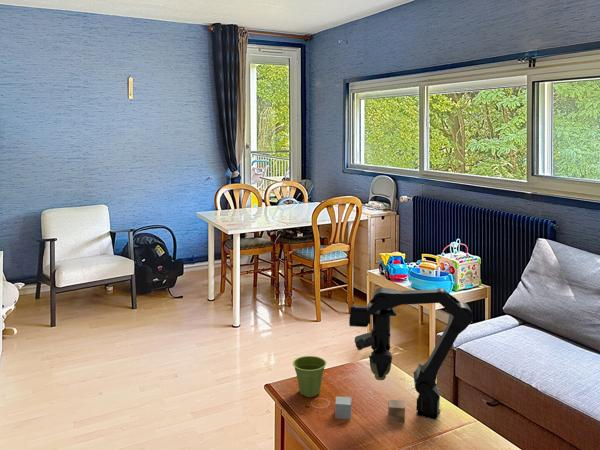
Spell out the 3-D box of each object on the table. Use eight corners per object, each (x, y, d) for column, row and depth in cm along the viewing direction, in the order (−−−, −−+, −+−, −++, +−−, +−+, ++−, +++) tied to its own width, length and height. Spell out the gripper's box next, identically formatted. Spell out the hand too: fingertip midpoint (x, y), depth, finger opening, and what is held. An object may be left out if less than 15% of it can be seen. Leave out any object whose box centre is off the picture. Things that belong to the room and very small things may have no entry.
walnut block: (403, 414, 172) (404, 400, 171) (404, 422, 167) (405, 408, 166) (388, 413, 173) (388, 399, 172) (388, 421, 168) (388, 407, 167)
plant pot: (287, 389, 190) (287, 359, 188) (316, 382, 195) (316, 353, 193) (302, 403, 179) (302, 372, 177) (332, 396, 184) (332, 365, 183)
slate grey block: (351, 411, 174) (351, 397, 173) (350, 419, 169) (350, 404, 168) (336, 410, 175) (336, 396, 174) (335, 418, 170) (335, 403, 169)
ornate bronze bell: (386, 385, 168) (386, 362, 167) (365, 380, 172) (365, 357, 171) (395, 377, 174) (395, 354, 173) (374, 371, 178) (374, 349, 177)
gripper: (357, 316, 181) (356, 360, 183) (355, 337, 162) (354, 384, 165) (389, 318, 179) (389, 361, 182) (392, 338, 161) (391, 386, 163)
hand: (380, 372), depth 173 cm, fingers closed on ornate bronze bell, 6 cm apart
